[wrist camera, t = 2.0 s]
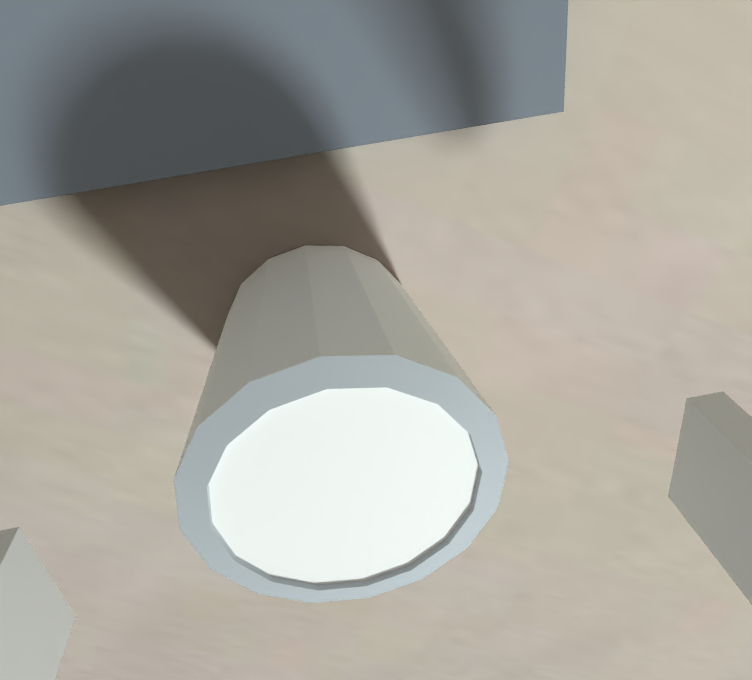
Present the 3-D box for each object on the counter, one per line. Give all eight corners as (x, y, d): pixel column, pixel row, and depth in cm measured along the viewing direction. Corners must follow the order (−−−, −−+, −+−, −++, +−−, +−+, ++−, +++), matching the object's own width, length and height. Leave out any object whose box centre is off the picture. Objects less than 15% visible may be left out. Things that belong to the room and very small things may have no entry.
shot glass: (190, 407, 19) (155, 602, 13) (223, 198, 15) (196, 327, 9) (395, 431, 20) (448, 612, 14) (461, 249, 17) (564, 385, 11)
